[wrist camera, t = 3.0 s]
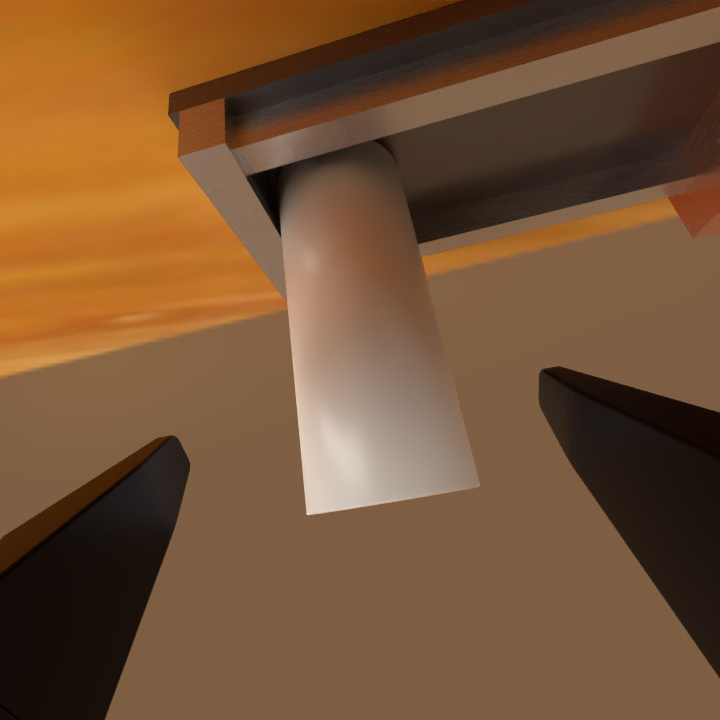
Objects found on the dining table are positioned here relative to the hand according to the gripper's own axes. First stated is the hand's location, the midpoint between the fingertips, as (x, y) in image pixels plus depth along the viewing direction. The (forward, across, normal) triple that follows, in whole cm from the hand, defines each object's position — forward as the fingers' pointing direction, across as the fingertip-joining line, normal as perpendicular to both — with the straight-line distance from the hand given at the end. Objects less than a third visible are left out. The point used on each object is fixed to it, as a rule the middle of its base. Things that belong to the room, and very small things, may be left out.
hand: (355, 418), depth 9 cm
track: (+10, -6, -6) cm, 13 cm away
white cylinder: (+9, 0, -5) cm, 10 cm away
